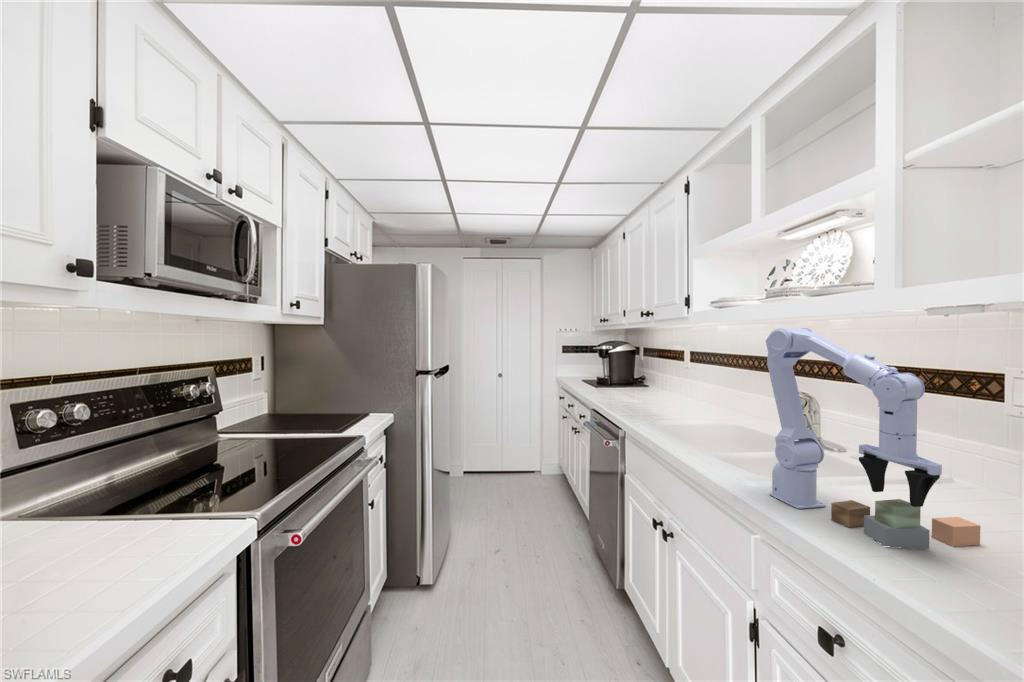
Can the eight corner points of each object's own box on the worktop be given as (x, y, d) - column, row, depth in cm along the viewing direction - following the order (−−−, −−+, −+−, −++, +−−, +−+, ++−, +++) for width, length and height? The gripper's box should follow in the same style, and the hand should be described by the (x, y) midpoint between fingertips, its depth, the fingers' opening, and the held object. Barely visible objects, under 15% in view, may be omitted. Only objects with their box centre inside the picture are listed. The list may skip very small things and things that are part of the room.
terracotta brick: (931, 537, 89) (931, 518, 89) (957, 535, 90) (958, 516, 90) (952, 546, 85) (953, 527, 85) (980, 545, 86) (980, 525, 86)
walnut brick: (831, 520, 97) (831, 502, 97) (851, 517, 99) (852, 500, 99) (848, 527, 94) (849, 509, 94) (870, 524, 95) (870, 506, 95)
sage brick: (874, 519, 89) (875, 500, 89) (899, 517, 90) (899, 498, 90) (894, 528, 85) (895, 508, 85) (920, 526, 86) (920, 506, 86)
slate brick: (863, 533, 91) (864, 515, 91) (905, 535, 90) (905, 516, 90) (884, 547, 85) (884, 528, 85) (929, 550, 84) (929, 530, 84)
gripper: (955, 440, 80) (954, 511, 81) (878, 424, 95) (877, 484, 95) (924, 442, 79) (923, 514, 80) (851, 425, 94) (850, 486, 94)
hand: (896, 498), depth 87 cm, fingers open, 7 cm apart
